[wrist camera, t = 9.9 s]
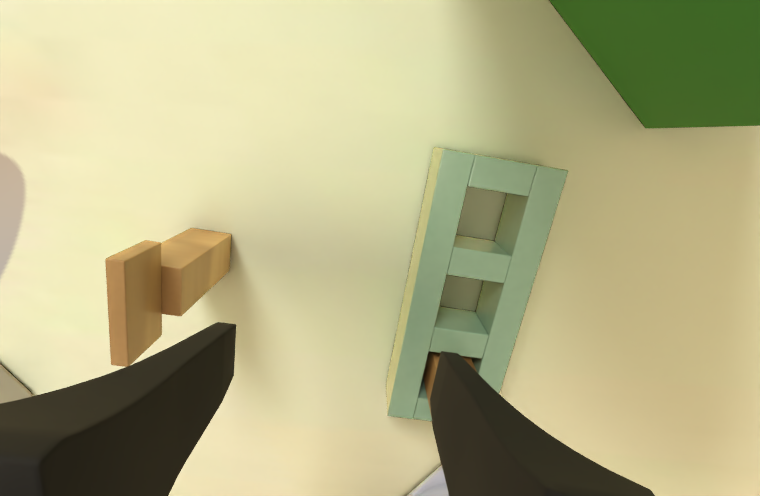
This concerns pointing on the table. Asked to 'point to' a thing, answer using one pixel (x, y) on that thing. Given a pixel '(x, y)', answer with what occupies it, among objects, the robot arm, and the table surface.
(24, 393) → the vintage mobile phone
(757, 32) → the hardback book
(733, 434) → the table surface
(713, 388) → the table surface
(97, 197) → the table surface
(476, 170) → the rack
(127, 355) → the wooden t-shaped block
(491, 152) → the table surface
